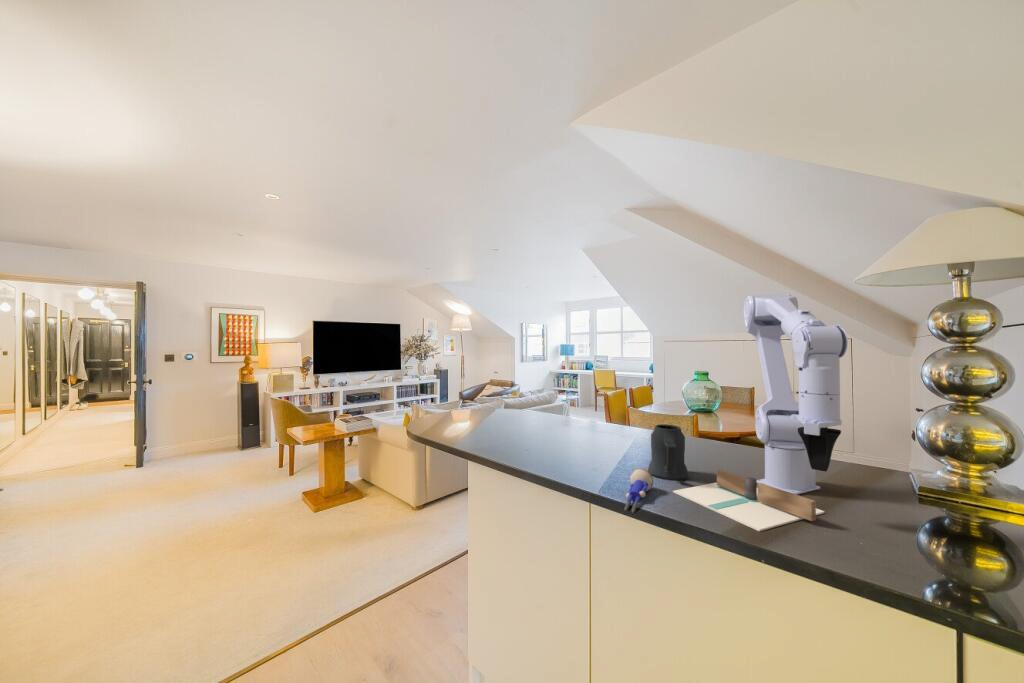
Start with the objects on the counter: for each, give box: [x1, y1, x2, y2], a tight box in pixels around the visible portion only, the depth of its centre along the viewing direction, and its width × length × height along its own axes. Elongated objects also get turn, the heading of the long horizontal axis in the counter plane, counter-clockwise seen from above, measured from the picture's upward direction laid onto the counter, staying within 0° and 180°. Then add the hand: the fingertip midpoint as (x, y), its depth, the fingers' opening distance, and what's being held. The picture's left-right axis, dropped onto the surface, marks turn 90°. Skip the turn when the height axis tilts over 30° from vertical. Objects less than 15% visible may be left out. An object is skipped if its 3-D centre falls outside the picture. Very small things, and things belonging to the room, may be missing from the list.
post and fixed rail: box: [716, 468, 758, 500], centre depth 77 cm, size 2×8×4 cm, turn 23°
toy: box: [624, 468, 654, 514], centre depth 75 cm, size 5×5×15 cm
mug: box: [647, 423, 689, 482], centre depth 88 cm, size 12×9×11 cm
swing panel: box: [757, 483, 817, 522], centre depth 68 cm, size 9×1×3 cm, turn 23°
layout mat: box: [672, 481, 826, 532], centre depth 73 cm, size 18×18×1 cm
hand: (819, 469), depth 67 cm, fingers closed
